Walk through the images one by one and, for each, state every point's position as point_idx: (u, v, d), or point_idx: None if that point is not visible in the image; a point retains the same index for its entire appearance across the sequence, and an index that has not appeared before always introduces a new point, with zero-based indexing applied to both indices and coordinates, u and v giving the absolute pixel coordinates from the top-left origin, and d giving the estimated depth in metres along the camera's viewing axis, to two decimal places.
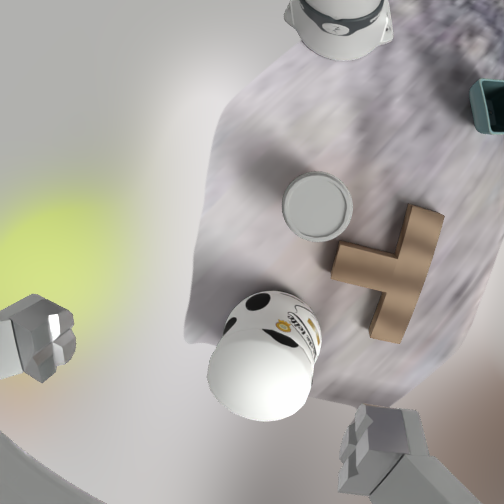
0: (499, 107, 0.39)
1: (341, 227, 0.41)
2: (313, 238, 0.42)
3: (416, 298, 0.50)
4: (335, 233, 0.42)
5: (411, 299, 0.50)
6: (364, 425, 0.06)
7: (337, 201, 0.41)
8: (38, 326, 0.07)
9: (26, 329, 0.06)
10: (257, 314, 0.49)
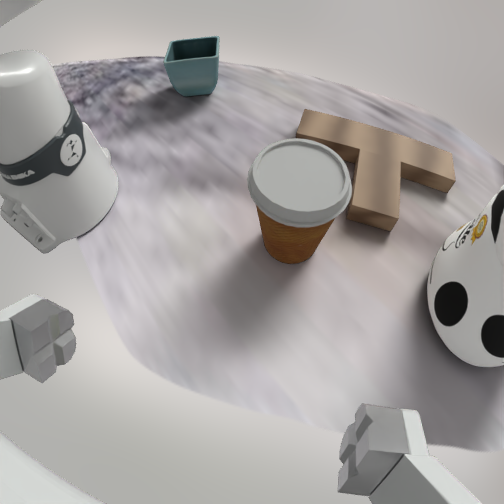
0: None
1: (327, 148, 0.29)
2: (346, 179, 0.27)
3: (399, 135, 0.43)
4: (336, 155, 0.29)
5: (401, 139, 0.42)
6: (364, 425, 0.06)
7: (291, 151, 0.29)
8: (38, 326, 0.07)
9: (26, 329, 0.06)
10: (473, 280, 0.24)
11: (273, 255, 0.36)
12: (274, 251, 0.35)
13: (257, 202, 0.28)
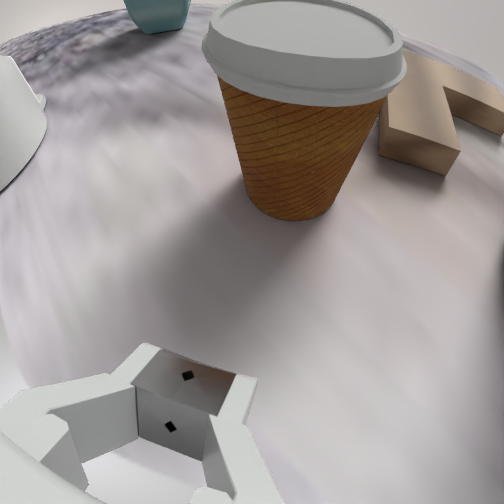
0: None
1: (348, 4, 0.13)
2: (395, 33, 0.11)
3: (431, 60, 0.27)
4: (366, 11, 0.12)
5: (436, 64, 0.26)
6: None
7: (285, 5, 0.13)
8: (177, 391, 0.06)
9: (164, 397, 0.06)
10: None
11: (262, 206, 0.20)
12: (263, 196, 0.19)
13: (218, 63, 0.11)
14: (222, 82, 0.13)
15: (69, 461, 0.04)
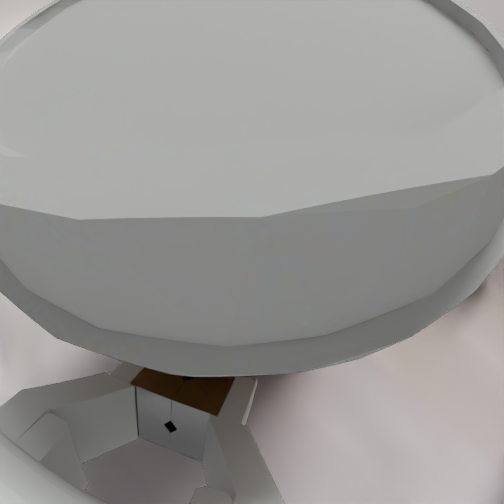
0: None
1: None
2: (492, 31, 0.03)
3: None
4: None
5: None
6: None
7: None
8: (177, 390, 0.06)
9: (163, 397, 0.06)
10: None
11: None
12: None
13: None
14: None
15: (69, 461, 0.04)
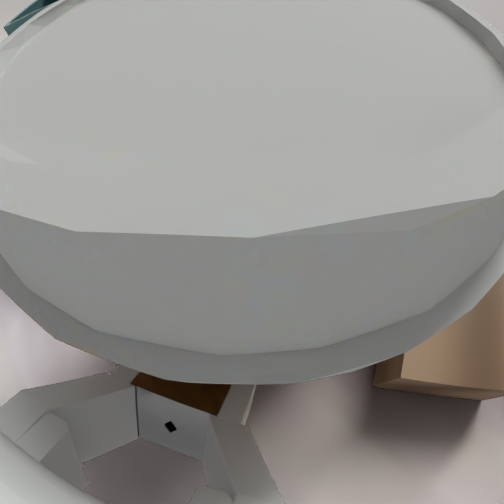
0: None
1: None
2: (502, 42, 0.03)
3: None
4: None
5: None
6: None
7: None
8: (177, 390, 0.06)
9: (164, 397, 0.06)
10: None
11: None
12: None
13: None
14: None
15: (69, 461, 0.04)
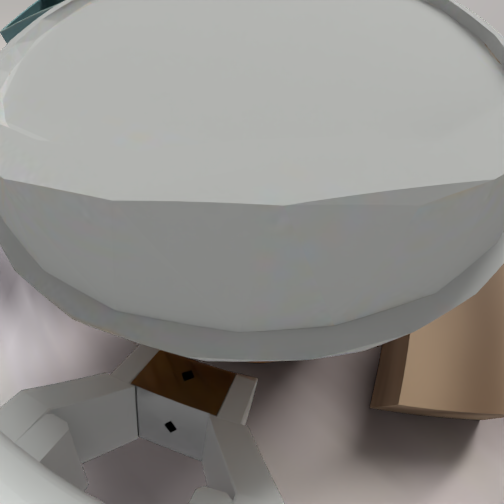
0: None
1: None
2: None
3: None
4: None
5: None
6: None
7: None
8: (177, 390, 0.06)
9: (164, 397, 0.06)
10: None
11: None
12: None
13: None
14: None
15: (69, 461, 0.04)
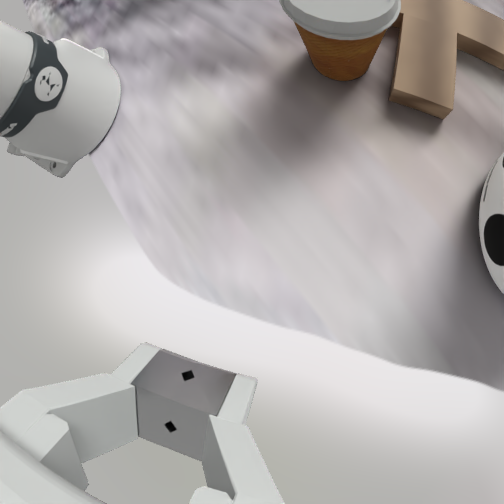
0: None
1: None
2: None
3: None
4: None
5: (457, 4, 0.22)
6: None
7: None
8: (177, 390, 0.06)
9: (164, 397, 0.06)
10: None
11: (321, 71, 0.28)
12: (321, 67, 0.27)
13: (291, 15, 0.19)
14: None
15: (69, 461, 0.04)
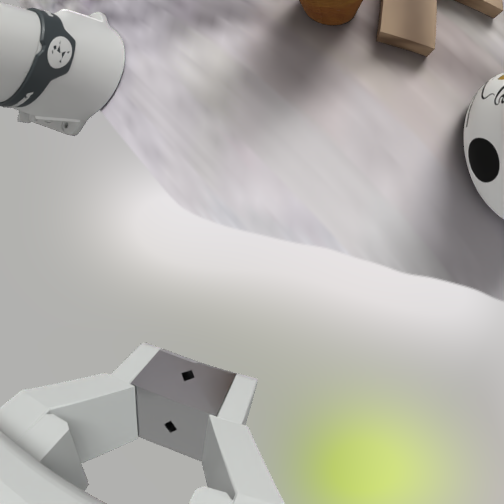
0: None
1: None
2: None
3: None
4: None
5: None
6: None
7: None
8: (177, 390, 0.06)
9: (164, 397, 0.06)
10: None
11: (314, 18, 0.28)
12: (314, 15, 0.27)
13: None
14: None
15: (69, 461, 0.04)
